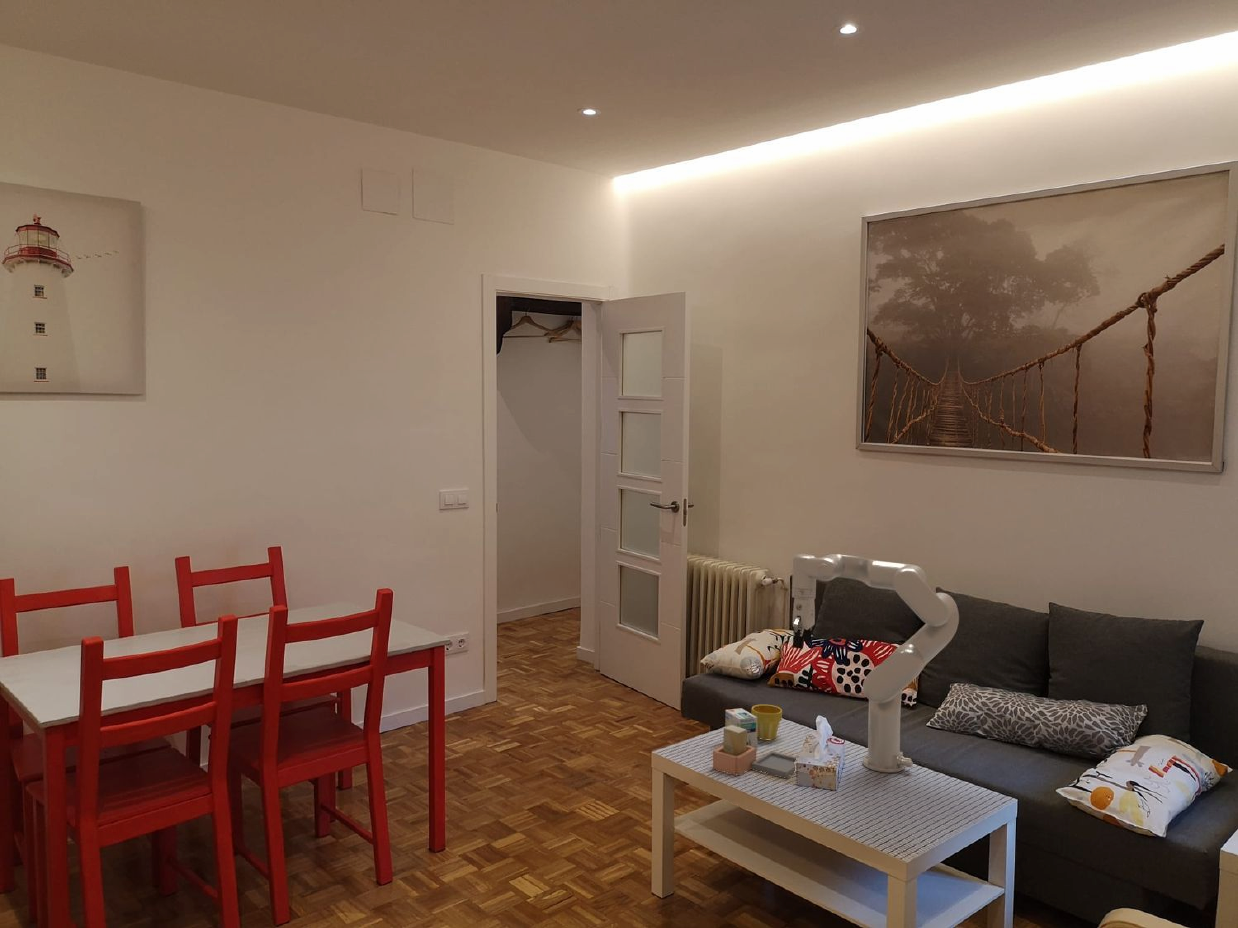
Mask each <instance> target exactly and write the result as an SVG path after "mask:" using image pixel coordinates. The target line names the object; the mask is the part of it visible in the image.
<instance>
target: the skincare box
mask: <svg viewBox="0 0 1238 928" xmlns="http://www.w3.org/2000/svg"><path fill="white" fill-rule="evenodd" d="M722 742H723V744H722V746H723V753H726V754H730V755H734V756H739V755H741V754H742V753H744V752H746V748H747V730H746V729H743V728H740V727H737V726H734V725H730V726H727V727H725V726H724V727H723V741H722Z"/></svg>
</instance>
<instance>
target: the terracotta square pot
mask: <svg viewBox="0 0 1238 928" xmlns="http://www.w3.org/2000/svg"><path fill="white" fill-rule="evenodd" d="M755 760H757V749H756V748H754V747H752V746H748V745H747V748H746V752H744V753H742V754H741V755H739V756H734V755H730V754H726V753H723V745H721V746H720V747H717V748H715V749H713V750H712V768H715V769H716V770H715V769H714V770H715V771H717V770H719V771H718V772H721V771H725V772H728V773H731V774H730V775H732V774H734V775H733V776H738V775H740V776H742V775H743V774H745V773H746V772H745V771H747V772H748V771H750V770H751V769H750V768H751V763H752V762H754V761H755ZM749 769H750V770H749ZM744 772H745V773H744ZM728 773H727V774H728ZM742 773H743V774H742ZM736 774H737V775H736ZM741 774H742V775H741Z"/></svg>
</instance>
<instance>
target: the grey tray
mask: <svg viewBox="0 0 1238 928" xmlns="http://www.w3.org/2000/svg"><path fill="white" fill-rule="evenodd" d="M796 758H798V757H796V756H793V755H788V754H786V753H780V752H777V751H773V750H770V751H769V752H767V753H766V754H764V755H762V756H760V757H758V758H756V760H755V761H754V762H752V763H751V769H754V770H753V771H755V770H757V771H756V772H759V771H762V772H766V773H768V774H767V775H770V774H771V776H774V775H778V776H781V777H785V778H787V779H789V778H788V776H789V775H792V774H793V773H794V771H795V764H794V762H795V760H796ZM751 769H750V770H751ZM762 772H761V773H762ZM766 773H765V774H766ZM793 775H794V774H793ZM793 775H792V776H793ZM781 777H780V778H781ZM785 778H784V779H785Z"/></svg>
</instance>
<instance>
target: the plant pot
mask: <svg viewBox="0 0 1238 928" xmlns="http://www.w3.org/2000/svg"><path fill="white" fill-rule="evenodd" d="M750 710H751V711H750V713H751V714H752V715H754V716H756V717H758V722H757V737H758V738H757V739H759V738H762V739H774V738H775V739H776V737H777V734H778V730H779V726H780V722H781V721H782V718H783V710H782V708H780V707H779V706H776V705H773V704H757V705H756V704H755V705H753V706H752V707H751V709H750ZM775 739H774V740H775Z"/></svg>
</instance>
